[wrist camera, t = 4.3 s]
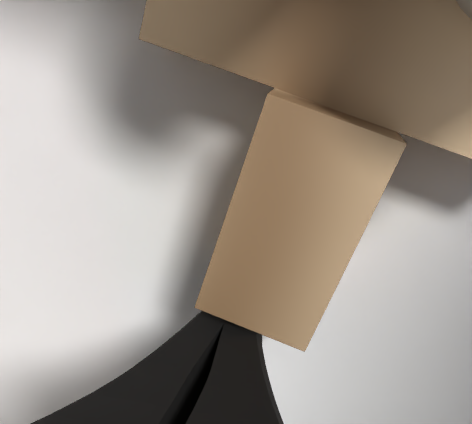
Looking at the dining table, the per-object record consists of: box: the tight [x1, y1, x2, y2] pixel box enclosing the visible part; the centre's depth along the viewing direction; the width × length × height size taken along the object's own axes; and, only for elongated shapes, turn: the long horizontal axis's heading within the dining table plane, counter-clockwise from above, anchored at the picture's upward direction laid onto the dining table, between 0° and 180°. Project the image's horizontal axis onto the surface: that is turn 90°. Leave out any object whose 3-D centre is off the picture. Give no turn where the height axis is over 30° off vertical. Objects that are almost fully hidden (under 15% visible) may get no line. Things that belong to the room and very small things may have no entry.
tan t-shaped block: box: [139, 0, 472, 352], centre depth 7 cm, size 8×12×5 cm
